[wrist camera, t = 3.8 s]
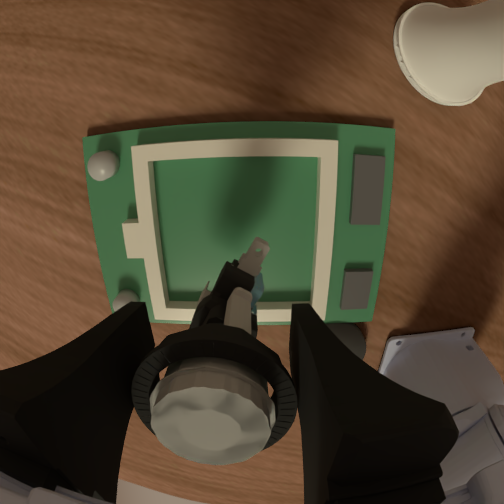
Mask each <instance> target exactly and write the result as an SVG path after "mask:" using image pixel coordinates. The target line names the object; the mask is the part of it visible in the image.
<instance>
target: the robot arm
mask: <svg viewBox="0 0 504 504" xmlns="http://www.w3.org/2000/svg"><path fill="white" fill-rule="evenodd" d="M474 332H475V330H474V328H473V327H468V328H461V329H454V330H447V331H439V332H431V333H423V334H414V335H404V336H394V337H391V338H389V339H388V341H387V343H386V347H385V350H384V354H383V357H382V361H381V364H380V367H379V371H376V370H375V369H374V368H372V367H371V366H369V365H368V364H367V363H365V362H364V361H363V360H362V359H360V358H359V357H358V356H356V355H355V354H354V353H353V352H352V351H351V350H350V349H349V348H348V347H347V346H346V345H345V344H343V342H342V341H341V340H340V339H339V338H338V337H337V336H336V335H335V334H334V333H333V332H332V331H331V330H330V328H329V327H328V326H327V325H326V324H325V323H324V321H323V320H322V319H321V318H320V316H319V315H318V314H317V313H316V311H315V310H314V309H313V307H312V306H311V305H310V304H309V303H298V304H292V308H291V326H290V341H289V355H290V370H291V376H292V380H293V383H294V386H295V390H296V395H297V408H298V413H299V418H300V425H301V435H302V451H303V471H304V504H504V385H503V381H502V379H501V377H500V375H499V373H498V372H497V370H496V369H495V368H494V366H493V365H492V363H491V362H490V361H489V359H488V358H487V357H486V355H485V354H484V353H483V351H482V350H481V348H480V347H479V346H478V345H477V343H476V342H475V341H474V339H473V338H472V337H473V335H474ZM398 341H399V342H398ZM397 342H398V343H397ZM154 347H155V343H154V338H153V334H152V330H151V325H150V321H149V316H148V311H147V307H146V302H133V301H131V302H129V303H127V304H126V305H124V306H123V307H121V308H120V309H118V310H117V311H115V312H114V313H113V314H111V315H110V316H108V317H107V318H106V319H104V320H103V321H101V322H100V323H99V324H97V325H96V326H94V327H93V328H91V329H90V330H88V331H87V332H85V333H84V334H82V335H81V336H79V337H78V338H76V339H74V340H73V341H71V342H69V343H68V344H66V345H64V346H62V347H60V348H58V349H56V350H55V351H53V352H51V353H48V354H46V355H44V356H41V357H39V358H37V359H34V360H32V361H29V362H27V363H24V364H21V365H18V366H15V367H11V368H8V369H4V370H0V504H116V495H117V483H118V475H119V468H120V461H121V456H122V450H123V445H124V440H125V436H126V431H127V427H128V423H129V419H130V416H131V413H132V410H133V408H134V404H133V401H132V394H131V387H132V381H133V378H134V375H135V373H136V371H137V369H138V367H139V365H140V363H141V362H142V360H143V359H144V357H145V356H146V355H147V354H148V353H149V352H150V351H152V350H153V349H154Z"/></svg>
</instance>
